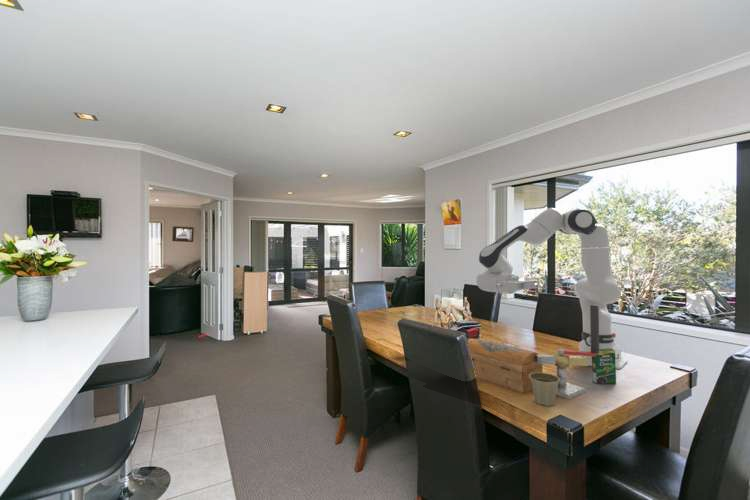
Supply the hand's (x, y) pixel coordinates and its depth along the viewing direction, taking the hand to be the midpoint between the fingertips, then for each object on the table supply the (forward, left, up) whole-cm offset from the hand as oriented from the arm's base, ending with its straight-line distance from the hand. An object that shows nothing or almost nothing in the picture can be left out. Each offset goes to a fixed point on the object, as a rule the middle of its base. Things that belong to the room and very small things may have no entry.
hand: (536, 285), depth 147 cm
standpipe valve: (+8, +14, -37) cm, 41 cm away
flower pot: (+23, +17, -38) cm, 47 cm away
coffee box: (-13, +19, -37) cm, 44 cm away
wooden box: (+16, -7, -38) cm, 42 cm away
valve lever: (+4, +19, -24) cm, 30 cm away
